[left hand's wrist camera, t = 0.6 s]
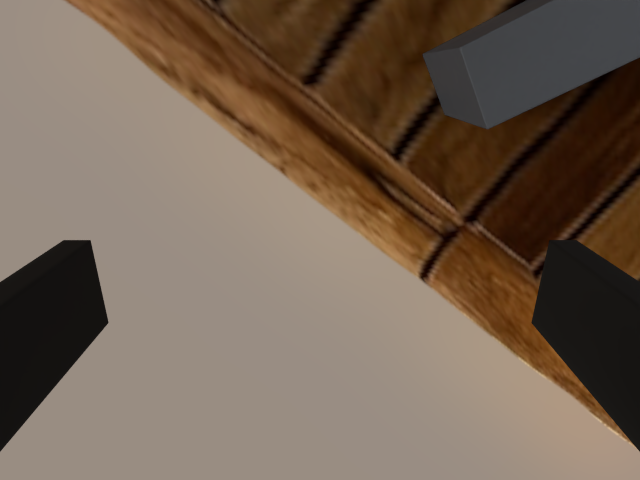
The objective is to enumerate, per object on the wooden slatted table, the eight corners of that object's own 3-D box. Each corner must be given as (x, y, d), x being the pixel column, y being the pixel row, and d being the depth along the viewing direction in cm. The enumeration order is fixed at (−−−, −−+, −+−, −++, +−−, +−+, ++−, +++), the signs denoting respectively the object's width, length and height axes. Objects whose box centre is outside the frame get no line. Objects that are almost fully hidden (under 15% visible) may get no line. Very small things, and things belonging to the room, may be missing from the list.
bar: (444, 115, 32) (487, 129, 24) (422, 54, 31) (459, 47, 23) (758, -38, 29) (934, -82, 21) (751, -116, 27) (939, -198, 19)
